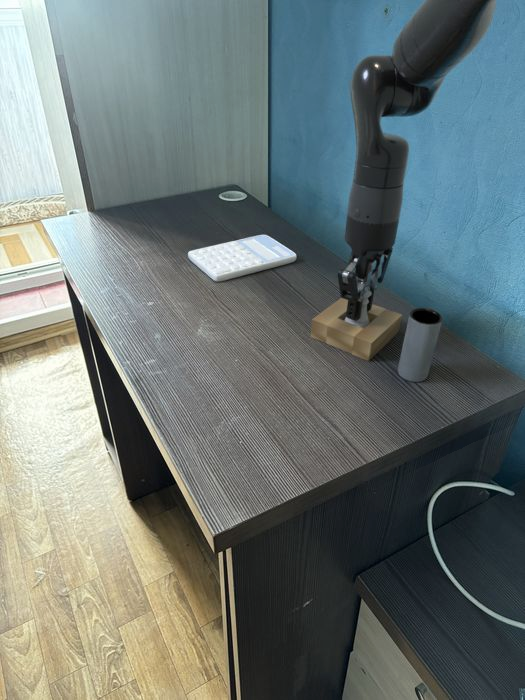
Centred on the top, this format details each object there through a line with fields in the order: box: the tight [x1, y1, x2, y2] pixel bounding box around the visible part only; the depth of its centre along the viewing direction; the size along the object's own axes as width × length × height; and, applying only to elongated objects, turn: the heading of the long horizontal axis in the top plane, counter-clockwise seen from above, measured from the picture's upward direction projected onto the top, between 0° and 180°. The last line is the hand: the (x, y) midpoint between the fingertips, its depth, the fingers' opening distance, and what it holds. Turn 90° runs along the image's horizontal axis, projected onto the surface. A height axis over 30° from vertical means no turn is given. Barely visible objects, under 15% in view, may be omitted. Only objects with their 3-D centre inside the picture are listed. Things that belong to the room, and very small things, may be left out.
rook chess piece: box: [344, 286, 372, 328], centre depth 85 cm, size 4×4×8 cm
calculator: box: [187, 234, 298, 283], centre depth 110 cm, size 13×20×2 cm, turn 122°
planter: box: [397, 307, 443, 383], centre depth 76 cm, size 4×4×10 cm
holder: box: [310, 297, 403, 362], centre depth 87 cm, size 11×11×4 cm
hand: (358, 313), depth 85 cm, fingers closed on rook chess piece, 3 cm apart
